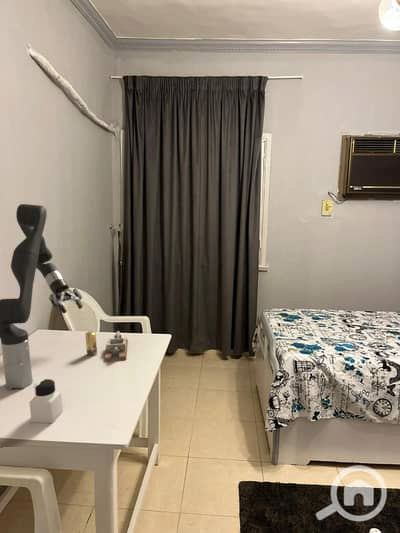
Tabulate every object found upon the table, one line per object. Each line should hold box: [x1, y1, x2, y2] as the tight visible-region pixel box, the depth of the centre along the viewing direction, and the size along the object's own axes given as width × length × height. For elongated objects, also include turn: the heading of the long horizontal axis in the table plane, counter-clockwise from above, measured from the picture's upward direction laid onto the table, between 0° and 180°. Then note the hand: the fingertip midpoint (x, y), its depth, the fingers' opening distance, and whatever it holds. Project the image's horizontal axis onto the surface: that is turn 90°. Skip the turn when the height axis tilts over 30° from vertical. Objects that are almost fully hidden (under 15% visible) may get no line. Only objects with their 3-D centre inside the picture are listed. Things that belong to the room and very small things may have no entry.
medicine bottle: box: [29, 378, 63, 424], centre depth 122 cm, size 7×7×12 cm
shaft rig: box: [104, 330, 129, 362], centre depth 176 cm, size 24×9×6 cm, turn 9°
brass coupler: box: [85, 331, 98, 357], centre depth 172 cm, size 4×4×10 cm
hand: (73, 310), depth 176 cm, fingers open, 8 cm apart
